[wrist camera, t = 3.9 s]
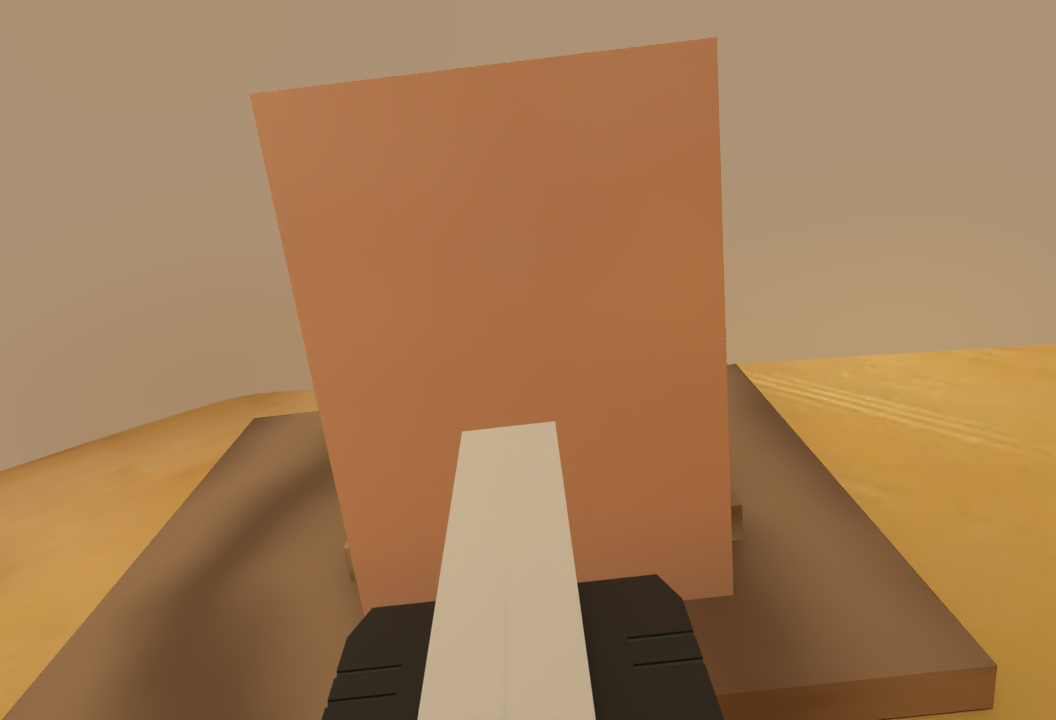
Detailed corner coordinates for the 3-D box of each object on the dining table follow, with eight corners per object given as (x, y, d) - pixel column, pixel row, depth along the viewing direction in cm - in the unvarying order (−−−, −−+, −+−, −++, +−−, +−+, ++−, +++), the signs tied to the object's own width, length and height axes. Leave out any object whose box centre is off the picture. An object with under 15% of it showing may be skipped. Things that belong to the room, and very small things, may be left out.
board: (736, 386, 37) (735, 340, 36) (992, 707, 17) (1001, 621, 17) (259, 440, 38) (248, 395, 37) (-26, 813, 18) (-62, 733, 17)
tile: (713, 551, 22) (694, 44, 18) (733, 594, 20) (717, 36, 16) (380, 587, 22) (278, 95, 18) (368, 634, 20) (249, 93, 16)
